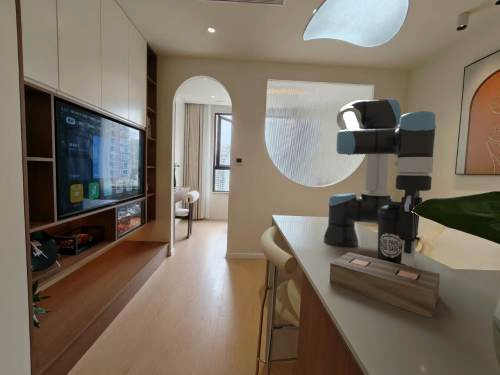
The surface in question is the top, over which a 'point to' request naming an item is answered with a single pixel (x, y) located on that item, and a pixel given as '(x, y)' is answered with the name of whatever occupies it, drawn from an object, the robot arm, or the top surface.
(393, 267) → the socket block
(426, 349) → the top surface
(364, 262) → the peg
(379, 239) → the water bottle
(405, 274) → the peg
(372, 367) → the top surface
